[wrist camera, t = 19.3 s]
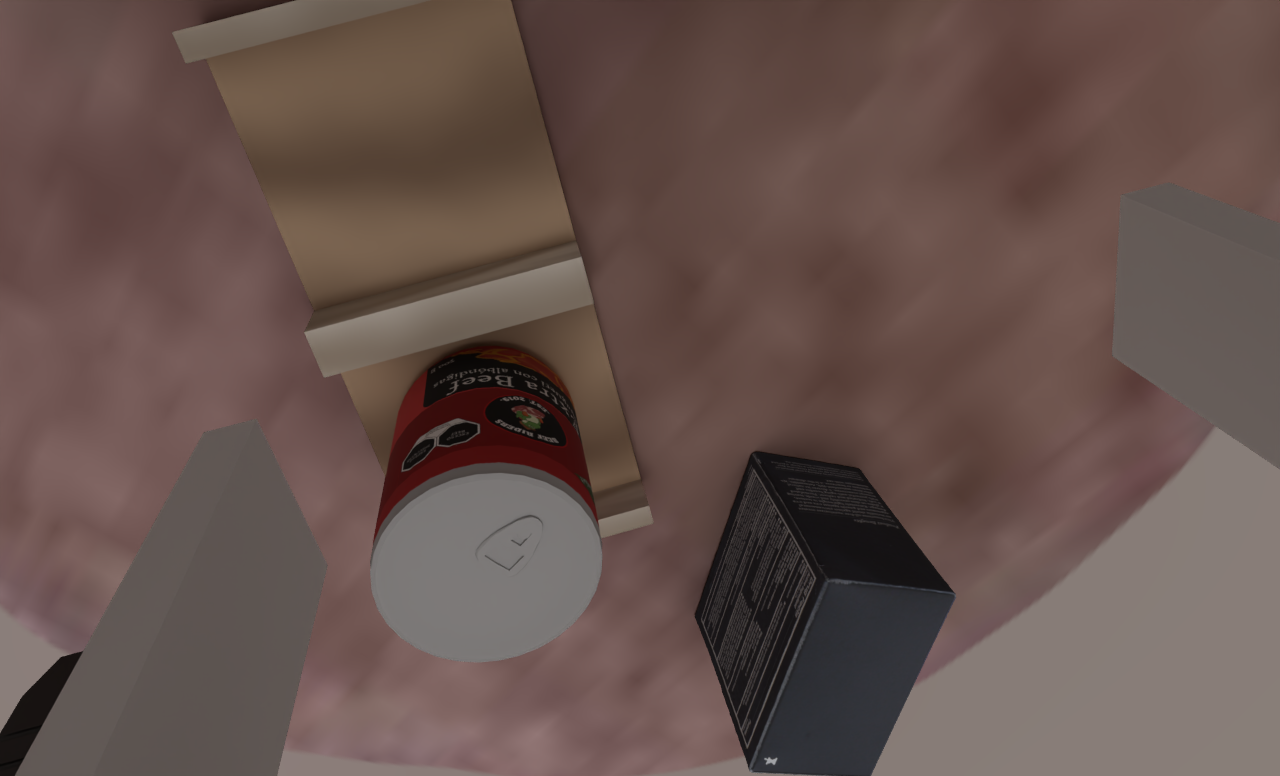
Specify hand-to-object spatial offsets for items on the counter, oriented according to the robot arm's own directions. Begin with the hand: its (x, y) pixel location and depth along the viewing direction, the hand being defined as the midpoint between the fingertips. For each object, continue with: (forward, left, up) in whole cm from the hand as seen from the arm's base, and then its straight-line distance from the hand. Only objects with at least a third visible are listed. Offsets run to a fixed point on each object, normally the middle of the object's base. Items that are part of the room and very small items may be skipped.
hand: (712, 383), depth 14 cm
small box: (+23, +5, -25) cm, 35 cm away
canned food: (+11, -7, -24) cm, 27 cm away
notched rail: (+5, -7, -25) cm, 26 cm away
